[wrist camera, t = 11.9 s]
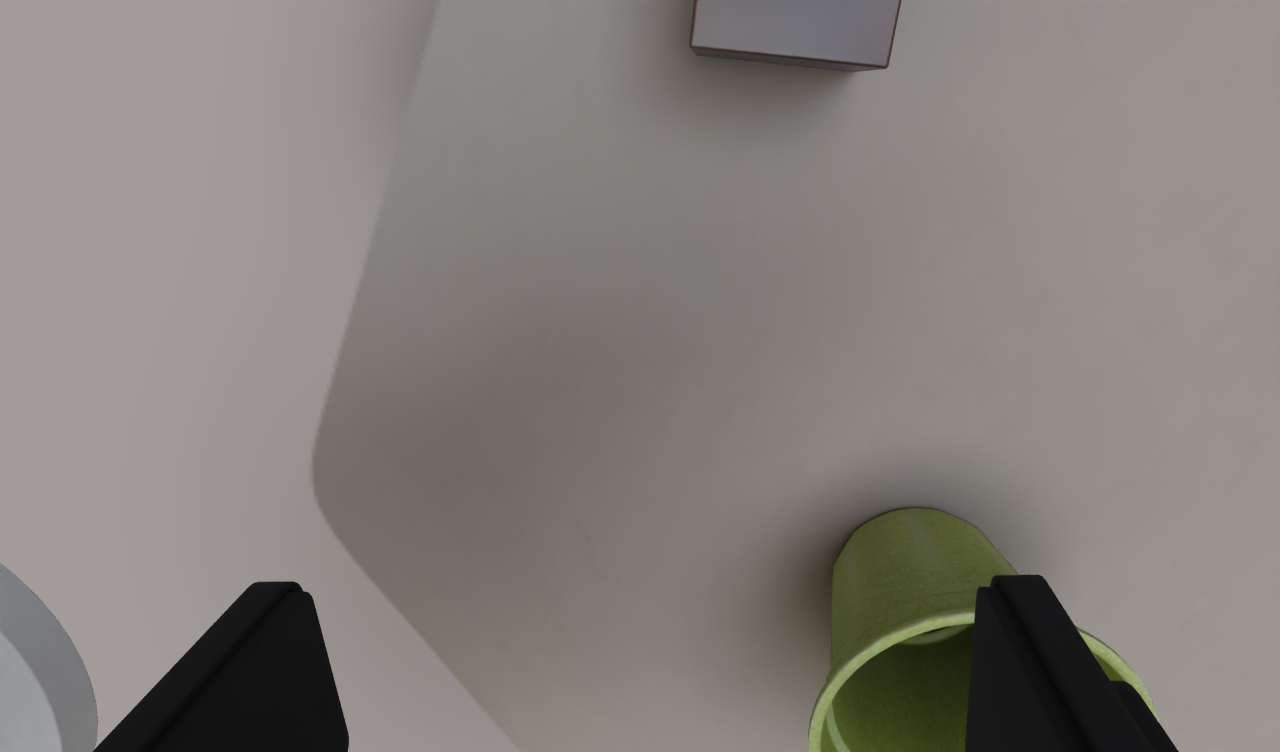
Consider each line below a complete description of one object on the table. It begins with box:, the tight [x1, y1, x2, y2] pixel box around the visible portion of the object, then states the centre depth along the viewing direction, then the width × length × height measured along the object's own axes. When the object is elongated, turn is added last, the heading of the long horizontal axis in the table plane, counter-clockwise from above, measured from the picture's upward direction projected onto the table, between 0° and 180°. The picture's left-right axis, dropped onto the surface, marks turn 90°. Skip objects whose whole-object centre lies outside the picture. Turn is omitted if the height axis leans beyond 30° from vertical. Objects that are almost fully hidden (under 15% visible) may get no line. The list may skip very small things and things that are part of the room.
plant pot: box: [808, 508, 1159, 752], centre depth 26 cm, size 9×9×9 cm
